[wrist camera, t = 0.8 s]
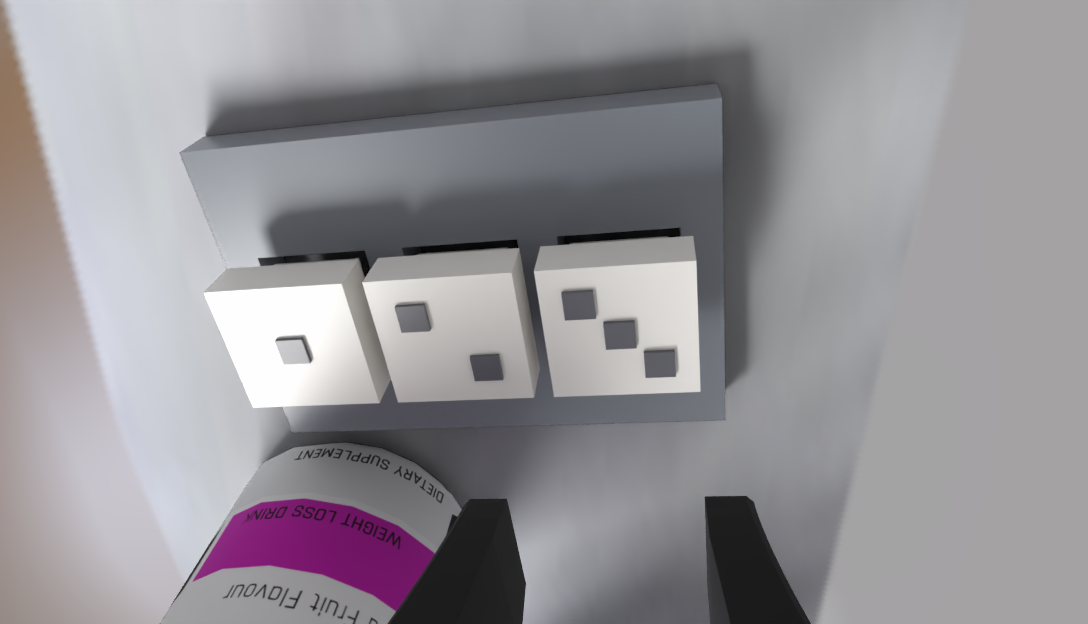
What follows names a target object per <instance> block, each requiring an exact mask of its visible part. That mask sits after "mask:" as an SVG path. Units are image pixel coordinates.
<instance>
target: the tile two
mask: <svg viewBox="0 0 1088 624" xmlns="http://www.w3.org/2000/svg"><path fill="white" fill-rule="evenodd" d="M362 284H363V287H364V291H365V294H366V297H367V301H368V304H369V307H370V311H371V314H372V317H373V321H374V324H375V327H376V331H377V334H378V337H379V340H380V344H381V347H382V350H383V354H384V357H385V360H386V364H387V367H388V370H389V374H390V377H391V380H392V384H393V387H394V390H395V394H396V397H397V400H398V403H399V402H428V401H456V400H485V399H513V398H534V395H535V390H536V385H537V380H538V375H539V370H540V367H539V361H538V355H537V349H536V343H535V337H534V331H533V325H532V320H531V314H530V308H529V302H528V296H527V290H526V284H525V278H524V272H523V267H522V261H521V255H520V249H519V248H513V249H508V247H507V248H493V249H478V250H464V251H450V252H436V253H422V254H417V255H413V256H399V257H385V258H378V259H377V260H376V262H375V263H374V265H373V266H372V268H371V269H370V271H369V273H368V274H367V276H366V277H365V279H364V280H363V282H362Z"/></svg>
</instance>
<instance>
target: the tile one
mask: <svg viewBox="0 0 1088 624" xmlns="http://www.w3.org/2000/svg"><path fill="white" fill-rule="evenodd" d="M364 279H365V275H364V272H363V269H362V265H361V262H360V258H351V259H337V260H323V261H309V262H294V263H280V264H274V265H271V266H257V267H242V268H228V269H227V270H226V271H225V272H224V273H223V274H222V275H221V276H220V277H219V278H218V279H217V280H216V281H215V282H214V283H213V284H212V285H211V286H210V287H209V288H208V289H207V290H206V291H205V292H204V295H205V297H206V300H207V302H208V304H209V307H210V309H211V311H212V314H213V316H214V318H215V321H216V323H217V325H218V327H219V330H220V332H221V334H222V337H223V339H224V341H225V344H226V346H227V348H228V351H229V353H230V355H231V358H232V360H233V362H234V365H235V367H236V369H237V372H238V374H239V376H240V378H241V381H242V383H243V385H244V388H245V390H246V392H247V395H248V397H249V399H250V402H251V404H252V406H253V408H257V407H286V406H314V405H343V404H371V403H380V401H381V399H382V397H383V395H384V393H385V391H386V389H387V386H388V384H389V382H390V380H391V377H390V374H389V370H388V367H387V364H386V360H385V357H384V354H383V350H382V347H381V344H380V340H379V337H378V334H377V331H376V327H375V324H374V321H373V317H372V314H371V311H370V307H369V304H368V301H367V297H366V294H365V291H364V287H363V284H362V282H363V280H364Z"/></svg>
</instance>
